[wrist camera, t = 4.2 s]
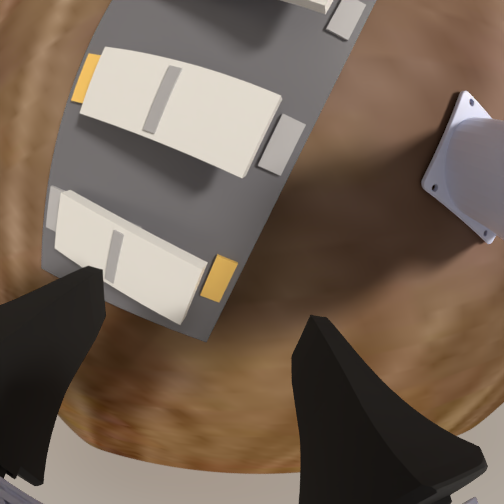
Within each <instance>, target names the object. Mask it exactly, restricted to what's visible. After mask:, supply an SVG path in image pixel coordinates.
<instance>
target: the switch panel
mask: <svg viewBox="0 0 504 504" xmlns="http://www.w3.org/2000/svg"><path fill="white" fill-rule="evenodd" d="M375 2H376V0H333V2H332V4H331V5H330V7H329V9H328V11H327V13H326V14H323V13H320V12H317V11H314V10H311V9H308V8H305V7H302V6H298V5H295V4H291V3H288V2H284V1H280V0H112V1H111V3H110V5H109V7H108V8H107V10H106V12H105V14H104V16H103V17H102V19H101V21H100V23H99V25H98V27H97V29H96V31H95V33H94V35H93V37H92V39H91V42H90V44H89V46H88V48H87V50H86V53H85V55H84V57H83V60H82V62H81V65H80V67H79V70H78V72H77V75H76V78H75V80H74V83H73V86H72V89H71V92H70V95H69V98H68V101H67V104H66V107H65V111H64V114H63V118H62V121H61V125H60V129H59V133H58V137H57V141H56V145H55V150H54V154H53V159H52V164H51V170H50V175H49V181H48V188H47V195H46V203H45V212H44V223H43V237H42V269H44V270H46V271H47V272H49V273H51V274H53V275H55V276H56V277H58V278H62V277H64V276H66V275H68V274H70V273H72V272H74V271H76V270H79V269H81V268H83V267H81V266H80V265H78V264H77V263H75V262H74V261H72V260H71V259H69V258H68V257H66V256H65V255H63V254H62V253H61V252H59V251H58V250H56V249H55V236H56V226H57V217H58V209H59V202H60V195H61V192H65V191H68V190H72V191H74V192H75V193H77V194H79V195H81V196H82V197H84V198H86V199H88V200H90V201H92V202H93V203H95V204H97V205H99V206H101V207H103V208H104V209H106V210H108V211H110V212H112V213H114V214H115V215H117V216H119V217H121V218H123V219H125V220H127V221H129V222H130V223H132V224H134V225H136V226H138V227H140V228H142V229H144V230H146V231H147V232H149V233H151V234H153V235H155V236H157V237H159V238H161V239H163V240H165V241H167V242H169V243H170V244H172V245H174V246H176V247H178V248H180V249H182V250H184V251H186V252H188V253H190V254H192V255H194V256H196V257H198V258H200V259H202V260H204V261H206V262H208V263H207V266H206V268H205V270H204V273H203V275H202V278H201V280H200V283H199V285H198V287H197V290H196V292H195V295H194V297H193V300H192V302H191V305H190V307H189V310H188V312H187V315H186V317H185V319H184V320H183V322H182V323H181V325H179V324H177V323H175V322H173V321H171V320H170V319H168V318H166V317H164V316H162V315H160V314H159V313H157V312H155V311H153V310H151V309H150V308H148V307H146V306H144V305H143V304H141V303H139V302H137V301H136V300H134V299H132V298H130V297H129V296H127V295H125V294H124V293H122V292H120V291H119V290H117V289H115V288H114V287H112V286H111V285H109V284H107V283H106V282H104V281H103V283H104V299H105V301H106V302H108V303H110V304H113V305H115V306H117V307H119V308H121V309H124V310H126V311H128V312H130V313H133V314H135V315H137V316H140V317H142V318H144V319H147V320H149V321H152V322H154V323H157V324H159V325H162V326H164V327H167V328H169V329H172V330H174V331H177V332H180V333H182V334H185V335H188V336H190V337H193V338H196V339H199V340H201V341H204V342H207V340H208V338H209V336H210V334H211V332H212V330H213V328H214V326H215V324H216V322H217V320H218V318H219V316H220V314H221V312H222V310H223V308H224V306H225V304H226V302H227V300H228V298H229V296H230V294H231V292H232V290H233V288H234V286H235V284H236V282H237V280H238V278H239V276H240V274H241V272H242V270H243V268H244V266H245V264H246V262H247V260H248V257H249V255H250V253H251V251H252V249H253V247H254V245H255V243H256V241H257V239H258V237H259V235H260V233H261V231H262V229H263V227H264V225H265V223H266V221H267V219H268V217H269V215H270V213H271V211H272V209H273V207H274V205H275V203H276V201H277V199H278V197H279V195H280V193H281V191H282V189H283V187H284V185H285V183H286V181H287V179H288V177H289V175H290V173H291V171H292V169H293V167H294V165H295V163H296V161H297V159H298V157H299V155H300V153H301V151H302V149H303V147H304V145H305V143H306V141H307V139H308V137H309V135H310V133H311V131H312V129H313V127H314V125H315V123H316V121H317V119H318V117H319V115H320V113H321V110H322V108H323V106H324V104H325V102H326V100H327V98H328V96H329V94H330V92H331V90H332V88H333V86H334V84H335V82H336V80H337V78H338V76H339V74H340V72H341V70H342V68H343V66H344V64H345V62H346V60H347V58H348V56H349V54H350V52H351V50H352V48H353V46H354V44H355V42H356V40H357V38H358V36H359V34H360V32H361V30H362V28H363V26H364V24H365V22H366V20H367V18H368V16H369V14H370V12H371V10H372V8H373V6H374V4H375ZM105 47H112V48H119V49H125V50H131V51H137V52H142V53H147V54H152V55H156V56H161V57H165V58H170V59H174V60H178V61H182V62H185V63H189V64H193V65H196V66H200V67H203V68H206V69H210V70H213V71H216V72H219V73H222V74H225V75H228V76H231V77H234V78H237V79H240V80H243V81H245V82H248V83H251V84H253V85H256V86H259V87H261V88H264V89H266V90H269V91H271V92H274V93H276V94H278V95H281V97H282V101H281V103H280V105H279V107H278V109H277V111H276V113H275V115H274V117H273V119H272V121H271V123H270V125H269V128H268V130H267V132H266V134H265V136H264V138H263V140H262V142H261V144H260V146H259V149H258V151H257V153H256V155H255V157H254V159H253V161H252V164H251V166H250V168H249V170H248V172H247V174H246V176H245V177H243V178H240V177H238V176H236V175H234V174H231V173H229V172H227V171H225V170H223V169H220V168H218V167H216V166H214V165H211V164H209V163H207V162H205V161H202V160H200V159H198V158H195V157H193V156H191V155H188V154H186V153H184V152H181V151H179V150H176V149H174V148H172V147H169V146H167V145H164V144H162V143H159V142H157V141H154V140H152V139H149V138H147V137H144V136H141V135H139V134H136V133H134V132H131V131H128V130H126V129H123V128H120V127H117V126H115V125H112V124H109V123H106V122H104V121H101V120H98V119H95V118H92V117H89V116H86V115H83V114H80V110H81V107H82V104H83V101H84V98H85V95H86V92H87V89H88V87H89V84H90V81H91V79H92V76H93V74H94V71H95V69H96V66H97V64H98V61H99V59H100V57H101V55H102V52H103V50H104V48H105Z"/></svg>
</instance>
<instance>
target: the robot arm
mask: <svg viewBox="0 0 504 504" xmlns="http://www.w3.org/2000/svg"><path fill="white" fill-rule="evenodd" d="M469 100H470V102H471V105H470V103H469ZM421 185H422V188H423V189H424V190H425V191H427V192H428V193H429V194H430V195H432V196H433V197H434V198H436V199H437V200H438V201H439V202H441V203H442V204H443V205H444V206H446V207H447V208H448V209H449V210H450V211H452V212H453V213H454V214H455V215H456V216H457V217H459V218H460V219H461V220H462V221H463V222H464V223H465V224H467V225H468V226H469V227H470V228H471V229H472V230H473V231H474V232H475V233H476V234H478V235H479V236H480V237H481V238H482V239H483V240H484V241H485V242H486V243H488V244H491V243H492V242H493V240H494V238H495V236H496V235H497V236H498V237H500V238H501V239H503V240H504V121H503V120H496V119H492V118H491V117H490V115H489V114H488V113H487V112H486V111H485V110H484V109H483V107H482V106H481V105H480V104H479V103H478V102H477V101H476V100H475V99H474V97H473V96H472V95H471V94H470V93H469V92H467V91H461V92H460V94H459V96H458V99H457V102H456V104H455V107H454V110H453V112H452V115H451V117H450V120H449V122H448V124H447V127H446V129H445V132H444V134H443V136H442V138H441V141H440V143H439V145H438V147H437V150H436V152H435V154H434V156H433V158H432V160H431V162H430V164H429V167H428V169H427V171H426V173H425V175H424V177H423V179H422V182H421ZM433 185H435V188H434V189H433V190H432V186H433ZM484 231H485V232H484ZM105 317H106V312H105V299H104V283H103V270H102V269H99V268H95V267H91V266H86V267H83V268H81V269H79V270H76V271H74V272H72V273H70V274H68V275H66V276H64V277H62V278H60V279H57V280H55V281H53V282H51V283H49V284H47V285H45V286H43V287H41V288H39V289H37V290H35V291H32V292H30V293H28V294H26V295H24V296H21V297H19V298H17V299H15V300H12V301H10V302H7V303H5V304H2V305H0V504H43V503H41V502H39V501H38V500H36V499H34V498H32V497H31V496H29V495H27V494H26V493H24V492H23V491H21V490H20V489H18V488H16V487H15V486H13V485H12V484H10V483H9V482H7V481H6V480H5V479H4V476H5V474H8V475H9V476H11V477H12V478H14V479H15V478H16V476H17V475H18V476H19V477H21V478H22V479H24V480H25V481H27V482H29V483H30V484H32V485H34V486H39V485H42V484H43V481H44V471H45V464H46V458H47V452H48V447H49V443H50V439H51V434H52V431H53V428H54V424H55V421H56V417H57V414H58V412H59V409H60V406H61V403H62V401H63V398H64V395H65V393H66V391H67V389H68V387H69V384H70V383H71V381H72V379H73V377H74V375H75V374H76V372H77V370H78V368H79V367H80V365H81V363H82V361H83V360H84V358H85V356H86V355H87V353H88V351H89V349H90V348H91V346H92V344H93V343H94V341H95V339H96V337H97V335H98V333H99V331H100V328H101V326H102V324H103V321H104V319H105ZM292 386H293V393H294V400H295V407H296V414H297V421H298V427H299V435H300V453H301V471H300V494H299V504H451V502H452V500H451V497H450V495H451V494H452V493H454V492H456V491H457V490H459V489H461V488H462V487H464V486H465V485H467V484H469V483H470V482H472V481H473V480H475V479H476V478H477V477H479V476H480V475H481V474H483V473H484V472H485V471H486V469H487V467H488V466H487V463H486V460H485V458H484V456H483V453H482V451H481V449H480V447H479V446H476V445H474V444H472V443H470V442H467V441H466V440H463V439H461V438H459V437H457V436H455V435H453V434H451V433H450V432H448V431H446V430H444V429H443V428H441V427H439V426H438V425H436V424H435V423H433V422H431V421H430V420H428V419H427V418H426V417H424V416H423V415H421V414H420V413H419V412H417V411H416V410H415V409H413V408H412V407H411V406H410V405H408V404H407V403H406V402H405V401H404V400H402V399H401V398H400V397H399V396H398V395H397V394H396V393H395V392H393V391H392V390H391V389H390V388H389V387H388V386H387V385H386V384H385V383H384V382H383V381H382V380H381V379H380V378H379V377H378V376H377V375H376V374H375V373H374V372H373V371H372V369H371V368H370V367H369V366H368V365H367V364H366V363H365V362H364V361H363V359H362V358H361V357H360V356H359V355H358V354H357V352H356V351H355V350H354V349H353V348H352V346H351V345H350V344H349V343H348V342H347V340H346V339H345V338H344V337H343V336H342V334H341V333H340V332H339V331H338V330H337V328H336V327H335V326H334V325H333V324H332V323H331V321H330V320H329V319H328V318H327V317H320V316H314V315H310V317H309V319H308V322H307V324H306V326H305V328H304V331H303V333H302V335H301V337H300V339H299V341H298V344H297V346H296V348H295V350H294V352H293V354H292ZM463 504H478V501H477V498H476V497H473V498H472V499H470V500H468V501H466V502H465V503H463Z"/></svg>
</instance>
